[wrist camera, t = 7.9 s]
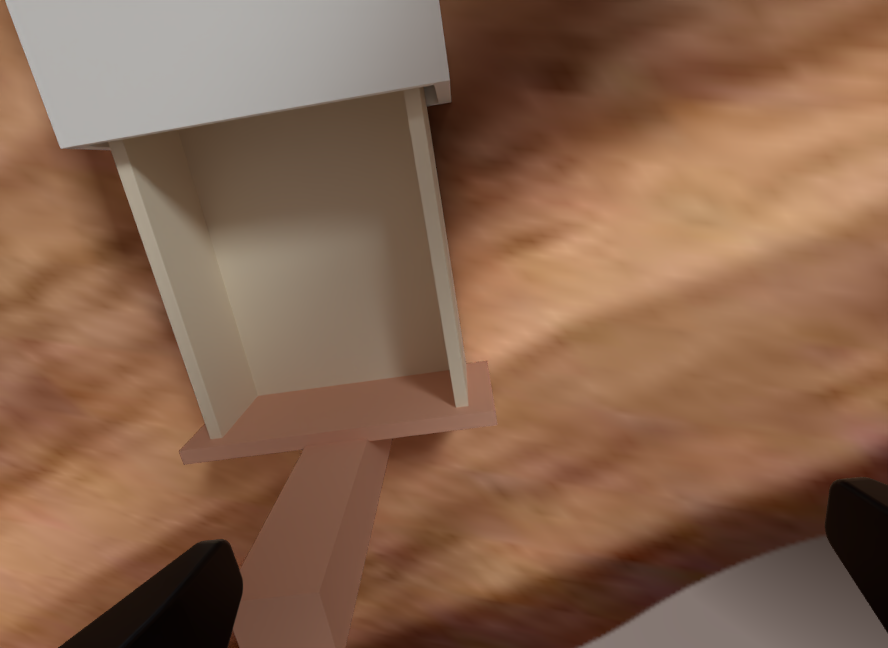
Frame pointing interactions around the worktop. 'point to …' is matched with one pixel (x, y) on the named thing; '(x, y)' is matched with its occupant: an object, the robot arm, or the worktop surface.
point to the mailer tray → (308, 325)
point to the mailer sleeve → (219, 59)
